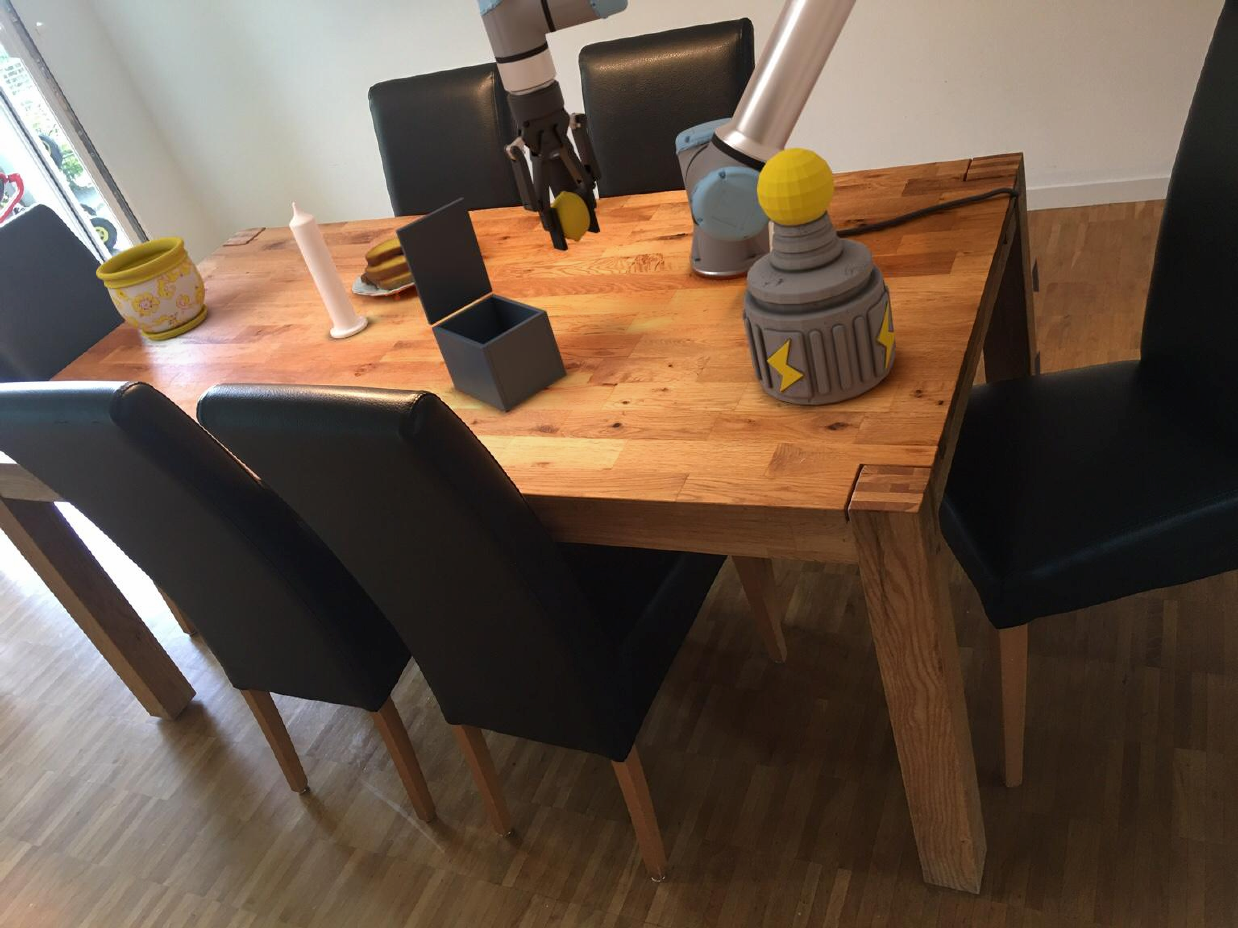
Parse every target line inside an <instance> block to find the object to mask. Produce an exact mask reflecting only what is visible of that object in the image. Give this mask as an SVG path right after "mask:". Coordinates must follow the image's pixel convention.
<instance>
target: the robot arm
mask: <svg viewBox="0 0 1238 928" xmlns="http://www.w3.org/2000/svg"><path fill="white" fill-rule="evenodd" d="M476 1H477V4H478V8H479V14H480V16H481V20H482V23H483V25H484V29H485V32H486V34H487V38H488V41H489V44H490V47H491V50H492V53H493V56H494V59H495V63H496V66H497V69H498V72H499V76H500V79H501V82H502V85H503V89H504V90H505V91H506V92H508V94H507V97H506V99H507V102H508V106H509V108H510V111H511V112H510V113H511V115H512V118H513V120H514V122H515V124H516V127H517V132H516V137H517V138H515V140H514V141H512V143H510V144H505V145H504V146H503V152H504V153H505V155H506V156H507V158H508V160H509V161H510V163H511V167H512V172H513V175H514V178H515V181H516V185H517V188H518V192H519V196H520V199H521V203H522V207H523V210H525V211H527V212H532V213H538V216H539V219H540V222H541V226H542V229H543V231H545V232H548V233H549V236H550V239H551V243H552V246H553V249H555V250H557V251H561V252H562V251H563V252H566V251H568V250H569V247H568V243H567V239H566V238H565V236H564V233H563V230H562V226H561V223H560V220H559V216H558V213H557V210H556V208H553V207H552V205H551V192H550V191H551V189H550V186H549V171H548V162H549V161H550V155H549V154H550V153H551V152H553V151H554V150H556V151H557V152H558V153H559V155H560V156H561V158H562V160H563V161H564V163H565V165H566V167H567V168H568V170H569V172H570V173H571V175H572V177H573V178H574V180H575V182H576V183H577V185H578V186H579V187H580V189H577V190H576V191H575V194H577V195H578V196H579V197H581V198H582V200H583V201H584V203H585V204H586V206H587V209H588V212H589V216H590V225H589V228H588V230H587V232H588V233H593V234H599V233H600V232H601V229H600V225H599V221H598V218H597V217H598V216H597V215H596V210H595V209H597V208H598V202H597V199H596V194H595V192H594V190H595V189H596V188H597V183H596V182H597V181H600V180H601V178H602V174H601V168H600V166H599V163H598V160H597V156H596V153H595V151H594V147H593V144H592V141H591V137H590V134H589V131H588V117H587V114H586V113H581V112H572V113H570V114H569V112H568V111H567V110H566V108H565V99H564V96H563V92H562V88H561V85H560V82H559V81H558V80H557V79H555V78H556V77H557V75H558V74H557V69H556V67H555V63H554V59H553V57H552V54H551V50H550V46H549V43H548V40H547V36H546V35H548V34H552V33H556V32H558V31H561V30H565V29H569V28H572V27H575V26H579V25H583V24H587V23H592V22H593V21H598V20H606V19H608V18H609V17H611V16H614V15H617V14H619V13H622V12H624V11H625V10H626V9H627V8H628V4H629V1H628V0H476ZM857 1H858V0H785V1H784V4H783V6H782V8H781V10H780V13H779V14H778V17H777V19H776V22H775V24H774V26H773V28H772V30H771V33H770V35H769V36H768V39H767V41H766V43H765V45H764V47H763V49H762V52H761V55H760V57H759V59H758V60H757V63H756V65H755V67H754V70H753V71H752V74H751V76H750V78H749V80H748V83H747V85H746V87H745V89H744V92H743V93H742V96H741V98H740V100H739V102H738V104H737V106H736V109H735V111H734V114H733V116H732V117H727V118H720V119H715V120H712V121H707V122H703V123H700V124H698V125H694V126H693V127H689V128H688V129H687V128H686V129H684V130H683V131H681V132H680V133H679V134H678V135H677V136H676V138H675V147H676V152H675V154H676V156H677V158H678V162H679V167H680V171H681V175H682V180H683V184H684V189H685V192H686V197H687V202H688V206H689V211H690V214H691V219H692V223H693V230H692V238H691V239H692V240H691V250H690V265H691V269H692V273H694V275H695V276H697V277H698V278H701V279H704V280H709V281H730V280H736V279H741V278H745V277H747V275H748V271H749V270H750V268H751V267H752V266H753V264H754V263H755V262H756V261H758V260H759V259H761V258H762V257H763V256H765V255H766V254H768V253H770V242H769V228H768V222H769V221H770V218H769V217H768V216H767V215H766V214H765V212H764V210H763V209H762V207H761V206H760V204H759V199H758V194H757V186H758V180H759V174H760V173H761V171H762V169H763V168H764V166H765V164H766V163H767V162H768V160H770V159H771V158H772V157H774V156H775V155H776V154H778V153H779V152H781V151H783V150H786V148H785V147H786V145H787V143H788V140H790V137H791V135H792V133H793V131H794V130H795V127H796V125H797V123H798V121H799V118H800V116H801V114H802V113H803V111H804V108H805V106H806V104H807V103H808V101H809V98H810V96H811V95H812V93H813V90H814V88H815V86H816V85H817V82H818V80H819V78H820V76H821V74H822V73H823V70H824V68H825V66H826V64H827V61H828V59H829V58H830V56H831V53H832V52H833V49H834V47H835V45H836V43H837V42H838V39H839V37H840V35H841V33H842V31H843V29H844V27H845V25H846V23H847V21H848V19H849V17H850V15H851V13H852V11H853V9H854V6H855V4H856V3H857ZM569 129H570V131H571V135H572V138H573V142H574V144H575V148H574V149H573V146H574V145H573V143H572V141H571V139H570V137H569V136H568V132H569ZM524 147H526V148H527V149H528V152H529V161H530V162H531V170H532V171H530V167H529V164H528V160H527V158H526V156H525V155H526V150H525V148H524ZM575 149H576V151H577V153H576V151H575ZM531 172H532V175H531ZM1003 194H1004V195H1005V194H1007V195H1011V196H1012V197H1021V196H1022V193H1021V192H1020V191H1018V190H1017V189H1014V188H1012V187H999V188H995V189H993V190H990V191H987V192H984V193H981V194H977V195H972V196H967V197H963V198H959V199H954V200H950V201H947V202H943V203H938V204H936V205H932V206H928V207H925V208H921V209H918V210H915V211H911V212H908V213H905V214H903V215H900V216H897V217H894V218H891V219H886V220H884V221H879V222H875V223H871V224H867V225H862V226H857V227H852V228H847V229H846V228H845V229H840V230H836V235H837V236H838V237H844V236H850V235H855V234H861V233H866V232H871V231H874V230H879V229H883V228H886V227H890V226H892V225H893V226H894V225H896V224H899V223H902V222H903V223H904V222H905V221H908V220H912V219H914V218H918V217H921V216H924V215H927V214H930V213H934V212H938V211H943V210H947V209H949V208H953V207H959V206H962V205H966V204H970V203H975V202H980V201H983V200H987V199H989V198H993V197H996V196H998V195H1003ZM1031 278H1032V290H1033V291H1032V292H1033V293H1039V292H1040V283H1039V282H1040V281H1039V280H1040V279H1039V269H1038V258H1037V257H1036V258H1035V260H1034V264H1033V267H1032V270H1031ZM1037 374H1038V375H1040V374H1041V350H1039V351H1038V352H1037V355H1036V356H1035V357H1034V376H1035V375H1037Z"/></svg>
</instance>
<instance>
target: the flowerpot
mask: <svg viewBox="0 0 1238 928" xmlns="http://www.w3.org/2000/svg"><path fill="white" fill-rule="evenodd" d="M188 254H189V252H188V250H187V249H186V248H185V241H184V240H183V238H182V237H179V236H165V237H159V238H156V239H155V238H154V239H152V240H149V241H145V242H143V243H140V244H137V245H135V246H132V247H129V248H128V249H125V250H123V251H121V252H118V253H117V254H115V255H114V256H112V257H110V258H108V259H107V260H105V261H104V262H103V263H102V264H100V265H99V266H98V268H97V269H96V272H95V273H96V274H95V275H96V277H97V278H98V279H99V280H101V281H103V285H104V287H105V288H107V291H108V293H109V296H110V299H111V301H112V303H113V304H114V306H115V308H116V310H117V311H118V313H119V314H120V316H121V317H122V318H123V319H124V320H125V322H127V323H129V324H130V325H131V326H133V327H134V328H136V329H138V330H140V331H141V332H140V335H141V336H142V337H144V338H148V339H149V340H152V341H163V340H167V339H168V340H169V339H171V338H174V337H177V336H179V335H182V334H185V333H187V332H189V331H190V330H192V329H194V328H195V327H197V326H198V325H200V324H201V323H202V322H203V321H205V319H206V316H207V312H208V305H207V304H205V300H206V299H205V297H206V289H205V288H206V287H205V283H204V280H203V277H202V275H201V273H200V271H199V269H198V268H197V266H196V265H195V263H194V262H193V260H192V259H191V258H190V256H189V255H188Z"/></svg>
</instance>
